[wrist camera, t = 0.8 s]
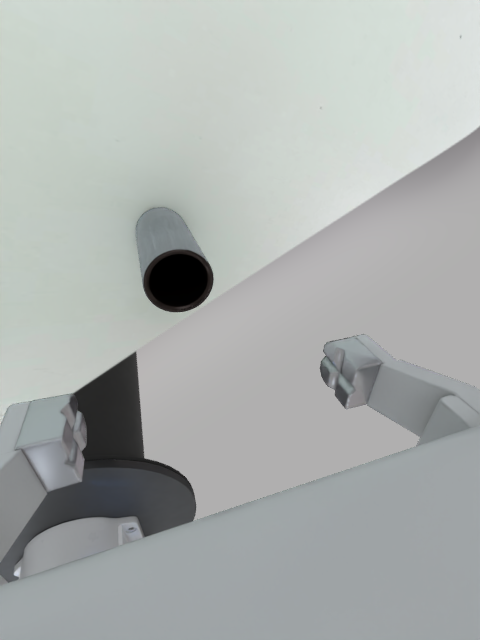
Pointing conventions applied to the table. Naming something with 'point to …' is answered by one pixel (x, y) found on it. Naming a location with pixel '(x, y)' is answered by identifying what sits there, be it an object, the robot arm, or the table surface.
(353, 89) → the table surface
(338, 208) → the table surface
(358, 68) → the table surface
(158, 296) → the planter
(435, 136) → the table surface
